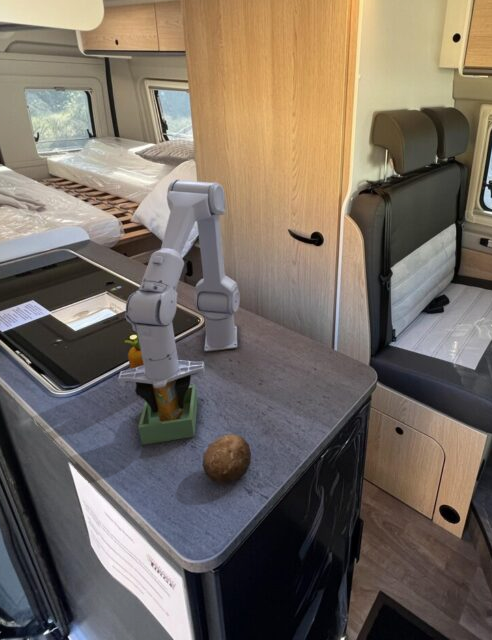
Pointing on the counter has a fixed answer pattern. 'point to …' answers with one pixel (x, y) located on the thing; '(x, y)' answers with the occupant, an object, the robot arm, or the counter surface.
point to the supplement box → (167, 402)
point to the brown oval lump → (227, 459)
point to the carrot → (135, 354)
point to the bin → (169, 422)
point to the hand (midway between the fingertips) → (169, 406)
